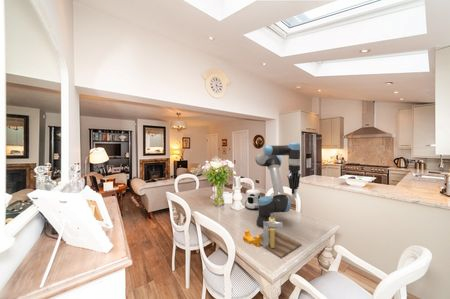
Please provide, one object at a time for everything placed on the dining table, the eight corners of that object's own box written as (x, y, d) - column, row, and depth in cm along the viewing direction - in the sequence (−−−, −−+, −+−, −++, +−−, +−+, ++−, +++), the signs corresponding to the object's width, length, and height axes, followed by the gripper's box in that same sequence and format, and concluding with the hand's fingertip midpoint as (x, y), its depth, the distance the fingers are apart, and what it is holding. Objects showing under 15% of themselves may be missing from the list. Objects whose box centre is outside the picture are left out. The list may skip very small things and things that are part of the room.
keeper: (263, 248, 116) (263, 222, 115) (263, 245, 119) (263, 220, 118) (282, 249, 114) (282, 224, 113) (281, 247, 117) (281, 222, 116)
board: (271, 230, 139) (271, 229, 139) (301, 245, 118) (301, 243, 118) (251, 240, 126) (251, 238, 126) (281, 258, 105) (281, 256, 105)
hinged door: (268, 232, 134) (268, 212, 133) (274, 232, 133) (274, 212, 132) (268, 247, 114) (268, 224, 113) (276, 248, 113) (276, 225, 112)
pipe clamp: (243, 240, 126) (243, 231, 125) (247, 238, 128) (247, 229, 128) (256, 248, 116) (256, 238, 116) (260, 245, 119) (260, 236, 119)
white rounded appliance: (251, 203, 200) (250, 188, 200) (264, 207, 189) (264, 190, 188) (242, 208, 187) (242, 191, 187) (256, 212, 176) (256, 194, 175)
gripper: (293, 166, 116) (293, 201, 117) (304, 164, 124) (304, 197, 125) (283, 165, 122) (283, 198, 123) (294, 163, 130) (294, 195, 131)
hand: (294, 197), depth 124 cm, fingers closed
